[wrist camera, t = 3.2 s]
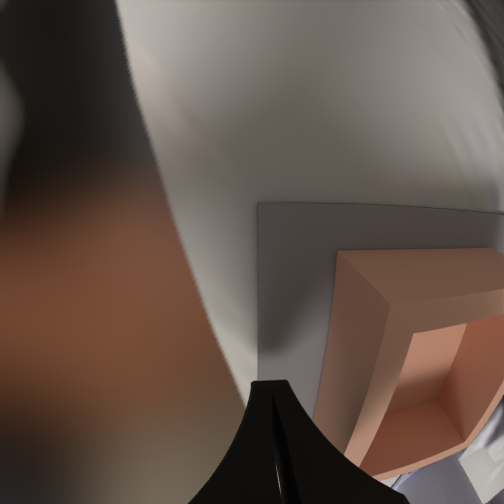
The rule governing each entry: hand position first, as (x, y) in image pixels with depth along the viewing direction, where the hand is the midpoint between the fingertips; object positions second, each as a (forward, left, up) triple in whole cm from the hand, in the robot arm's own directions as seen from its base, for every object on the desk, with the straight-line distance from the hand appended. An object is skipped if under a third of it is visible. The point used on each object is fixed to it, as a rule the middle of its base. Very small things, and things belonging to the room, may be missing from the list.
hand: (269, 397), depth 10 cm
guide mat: (0, -12, -2) cm, 12 cm away
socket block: (0, -7, -2) cm, 8 cm away
